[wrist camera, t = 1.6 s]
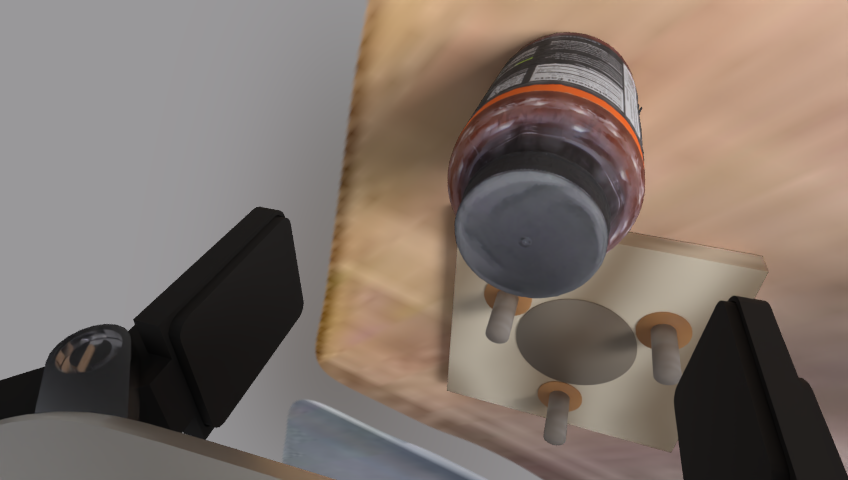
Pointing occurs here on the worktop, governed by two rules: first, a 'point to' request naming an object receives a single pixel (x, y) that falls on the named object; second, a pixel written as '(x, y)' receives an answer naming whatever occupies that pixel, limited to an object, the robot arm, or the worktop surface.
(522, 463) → the worktop surface
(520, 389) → the pin board
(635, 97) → the supplement bottle
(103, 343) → the robot arm
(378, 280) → the worktop surface
